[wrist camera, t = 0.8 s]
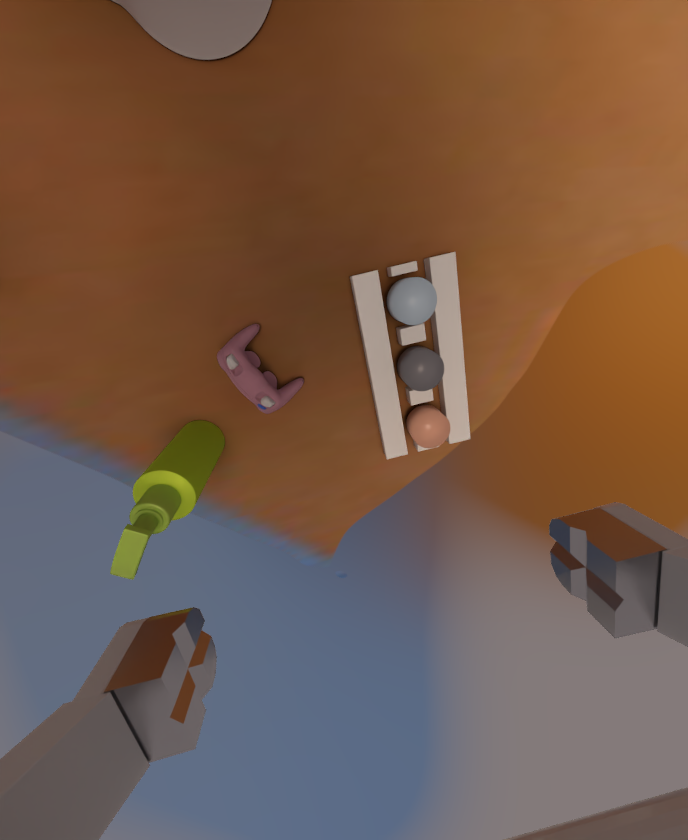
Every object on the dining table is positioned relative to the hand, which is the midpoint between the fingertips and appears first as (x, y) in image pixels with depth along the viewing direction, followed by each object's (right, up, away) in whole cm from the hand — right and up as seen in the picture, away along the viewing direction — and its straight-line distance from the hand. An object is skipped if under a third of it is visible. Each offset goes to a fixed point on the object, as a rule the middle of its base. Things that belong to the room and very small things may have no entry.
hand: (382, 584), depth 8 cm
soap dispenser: (-20, +1, +38) cm, 43 cm away
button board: (+8, +11, +37) cm, 39 cm away
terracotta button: (+10, +3, +38) cm, 40 cm away
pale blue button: (+7, +18, +32) cm, 38 cm away
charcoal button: (+8, +11, +35) cm, 38 cm away
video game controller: (-11, +11, +35) cm, 39 cm away
